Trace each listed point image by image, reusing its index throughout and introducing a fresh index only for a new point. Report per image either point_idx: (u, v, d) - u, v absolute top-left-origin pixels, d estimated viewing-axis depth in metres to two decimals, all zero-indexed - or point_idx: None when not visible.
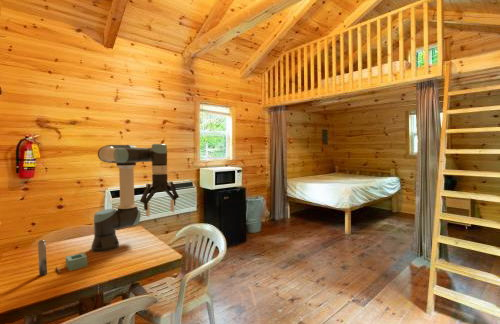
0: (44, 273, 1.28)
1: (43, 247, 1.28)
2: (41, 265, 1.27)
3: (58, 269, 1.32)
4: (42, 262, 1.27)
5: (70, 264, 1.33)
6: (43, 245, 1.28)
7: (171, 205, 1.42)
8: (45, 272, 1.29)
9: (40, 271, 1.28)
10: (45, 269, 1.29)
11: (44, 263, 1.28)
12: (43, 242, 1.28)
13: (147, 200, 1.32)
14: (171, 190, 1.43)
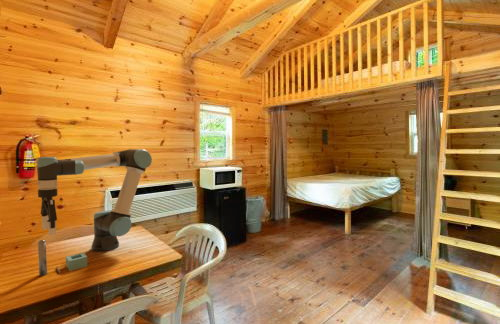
0: (44, 273, 1.28)
1: (43, 247, 1.28)
2: (41, 265, 1.27)
3: (58, 269, 1.32)
4: (42, 262, 1.27)
5: (70, 264, 1.33)
6: (43, 245, 1.28)
7: None
8: (45, 272, 1.29)
9: (40, 271, 1.28)
10: (45, 269, 1.29)
11: (44, 263, 1.28)
12: (43, 242, 1.28)
13: (42, 213, 1.32)
14: None
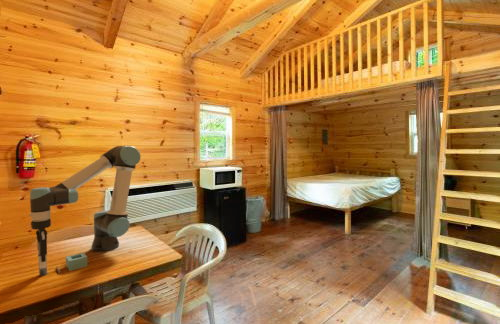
0: (44, 273, 1.28)
1: None
2: None
3: (58, 269, 1.32)
4: None
5: (70, 264, 1.33)
6: None
7: None
8: (45, 272, 1.29)
9: (40, 271, 1.28)
10: (45, 269, 1.29)
11: None
12: None
13: None
14: None
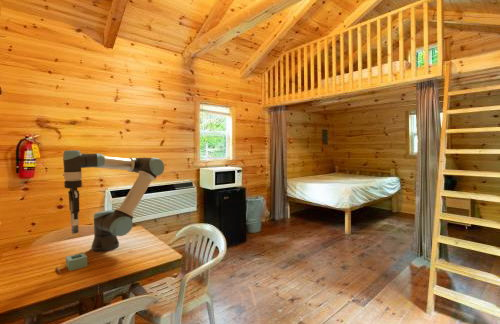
0: (76, 231, 1.37)
1: None
2: None
3: (58, 269, 1.32)
4: None
5: (70, 264, 1.33)
6: None
7: None
8: (77, 230, 1.37)
9: (73, 229, 1.36)
10: (77, 227, 1.37)
11: None
12: None
13: (70, 208, 1.38)
14: (78, 202, 1.34)
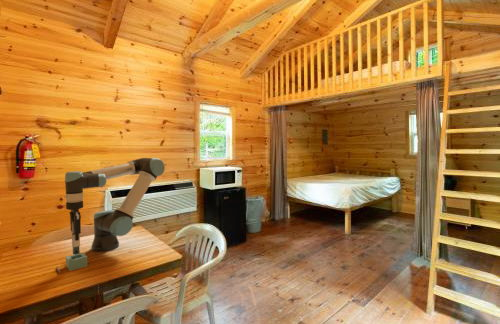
0: (77, 252, 1.37)
1: None
2: None
3: (58, 269, 1.32)
4: None
5: (70, 264, 1.33)
6: None
7: None
8: (78, 251, 1.38)
9: (74, 250, 1.37)
10: (78, 248, 1.38)
11: None
12: None
13: (71, 229, 1.39)
14: None
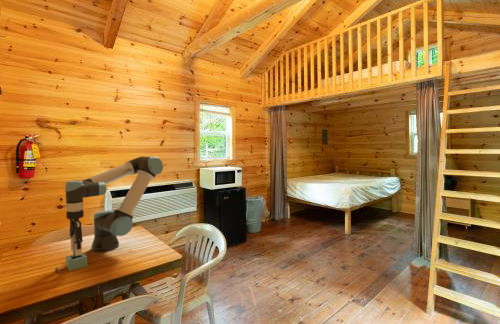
0: None
1: None
2: (75, 257, 1.37)
3: (58, 269, 1.32)
4: None
5: (70, 264, 1.33)
6: None
7: None
8: None
9: None
10: None
11: (78, 255, 1.38)
12: None
13: (70, 234, 1.41)
14: None
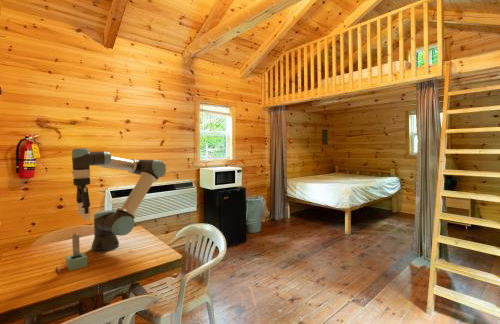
0: None
1: (77, 241, 1.37)
2: (75, 257, 1.37)
3: (58, 269, 1.32)
4: (76, 254, 1.37)
5: (70, 264, 1.33)
6: (77, 238, 1.37)
7: None
8: None
9: None
10: None
11: (78, 255, 1.38)
12: (77, 236, 1.37)
13: (77, 200, 1.44)
14: None
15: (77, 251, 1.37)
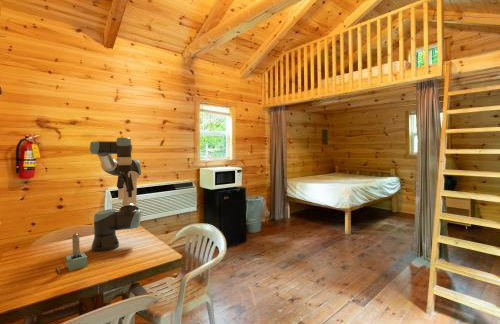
0: None
1: (77, 241, 1.37)
2: (75, 257, 1.37)
3: (58, 269, 1.32)
4: (76, 254, 1.37)
5: (70, 264, 1.33)
6: (77, 238, 1.37)
7: None
8: None
9: None
10: None
11: (78, 255, 1.38)
12: (77, 236, 1.37)
13: (118, 186, 1.55)
14: None
15: (77, 251, 1.37)
